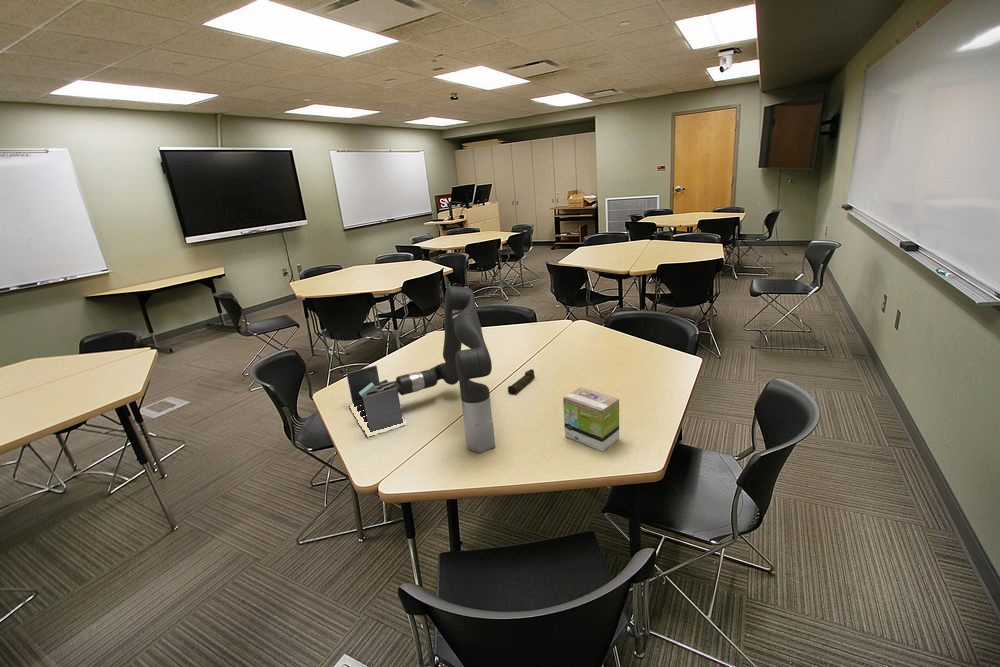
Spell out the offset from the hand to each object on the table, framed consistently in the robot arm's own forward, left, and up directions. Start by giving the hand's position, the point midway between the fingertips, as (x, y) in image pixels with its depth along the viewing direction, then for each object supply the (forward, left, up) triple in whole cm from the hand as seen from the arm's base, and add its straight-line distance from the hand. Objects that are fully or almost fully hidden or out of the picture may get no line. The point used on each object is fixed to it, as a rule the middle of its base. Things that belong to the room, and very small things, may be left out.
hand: (366, 394), depth 171 cm
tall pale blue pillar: (0, -6, -9) cm, 10 cm away
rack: (+2, -3, -11) cm, 12 cm away
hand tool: (-11, -61, -11) cm, 63 cm away
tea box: (-60, -57, -11) cm, 84 cm away
